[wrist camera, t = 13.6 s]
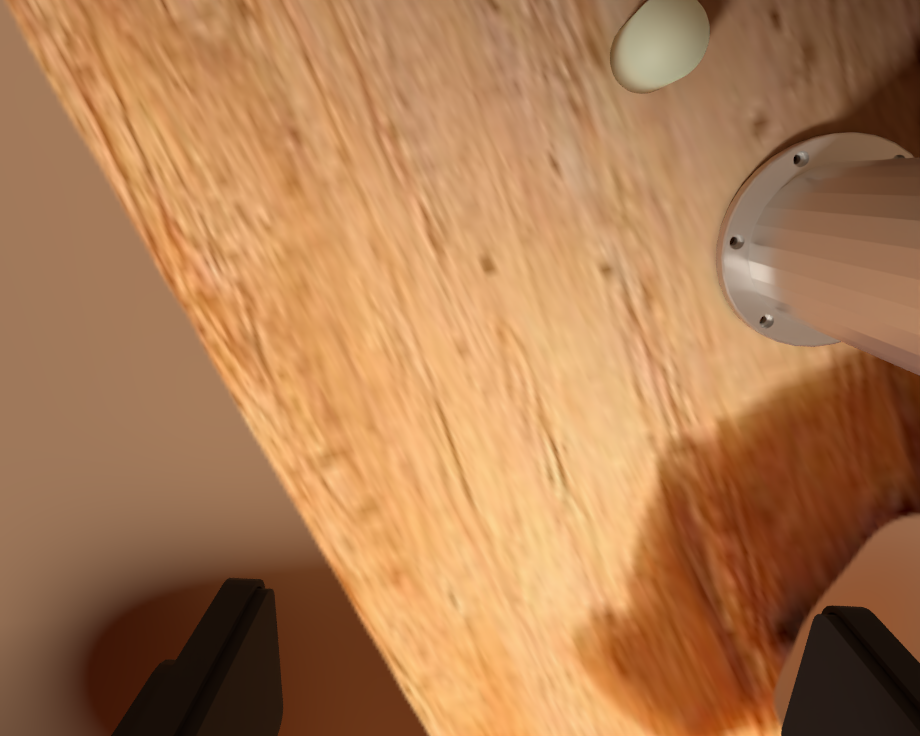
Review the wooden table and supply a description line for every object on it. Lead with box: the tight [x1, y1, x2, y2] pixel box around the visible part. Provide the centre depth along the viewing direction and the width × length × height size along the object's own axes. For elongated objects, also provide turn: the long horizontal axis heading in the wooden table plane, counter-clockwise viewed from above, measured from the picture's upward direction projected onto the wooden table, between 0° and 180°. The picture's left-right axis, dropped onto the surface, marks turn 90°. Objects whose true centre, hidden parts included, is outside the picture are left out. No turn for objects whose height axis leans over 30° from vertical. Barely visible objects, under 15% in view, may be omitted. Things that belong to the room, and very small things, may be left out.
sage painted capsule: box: [610, 0, 710, 94], centre depth 30 cm, size 4×4×4 cm
